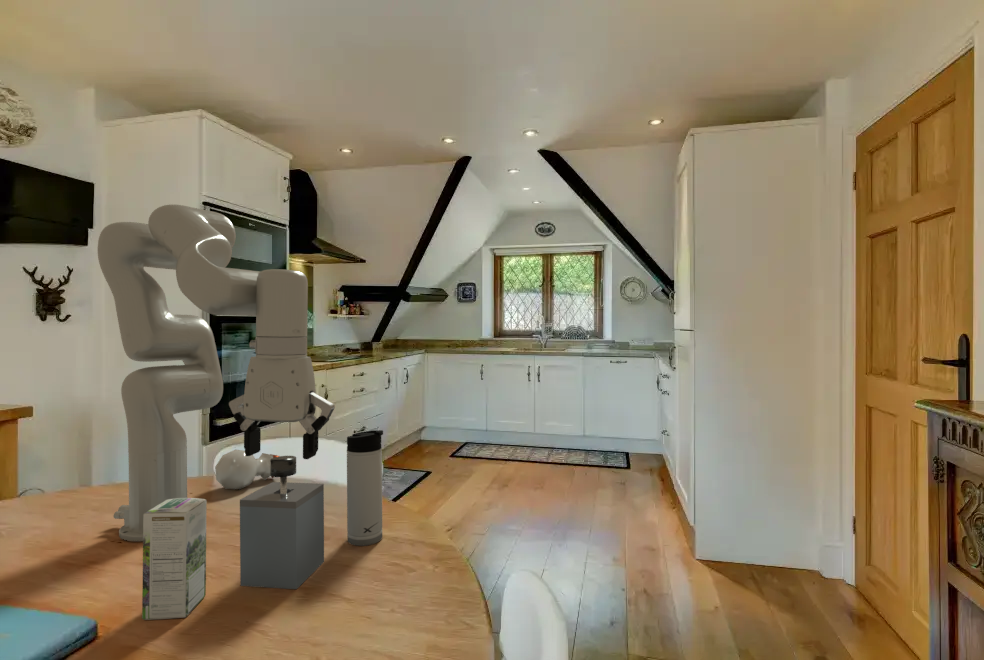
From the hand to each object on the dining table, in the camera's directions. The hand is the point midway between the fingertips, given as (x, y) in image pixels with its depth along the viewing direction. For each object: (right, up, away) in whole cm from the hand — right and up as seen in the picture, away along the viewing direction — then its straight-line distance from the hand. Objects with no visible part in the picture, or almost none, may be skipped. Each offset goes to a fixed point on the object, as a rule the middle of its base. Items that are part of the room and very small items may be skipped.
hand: (281, 455), depth 81 cm
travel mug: (+10, -19, +13) cm, 25 cm away
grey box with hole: (+1, -19, 0) cm, 19 cm away
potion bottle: (-27, -19, +46) cm, 57 cm away
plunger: (+1, -15, 0) cm, 15 cm away
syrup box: (-10, -19, -10) cm, 24 cm away
